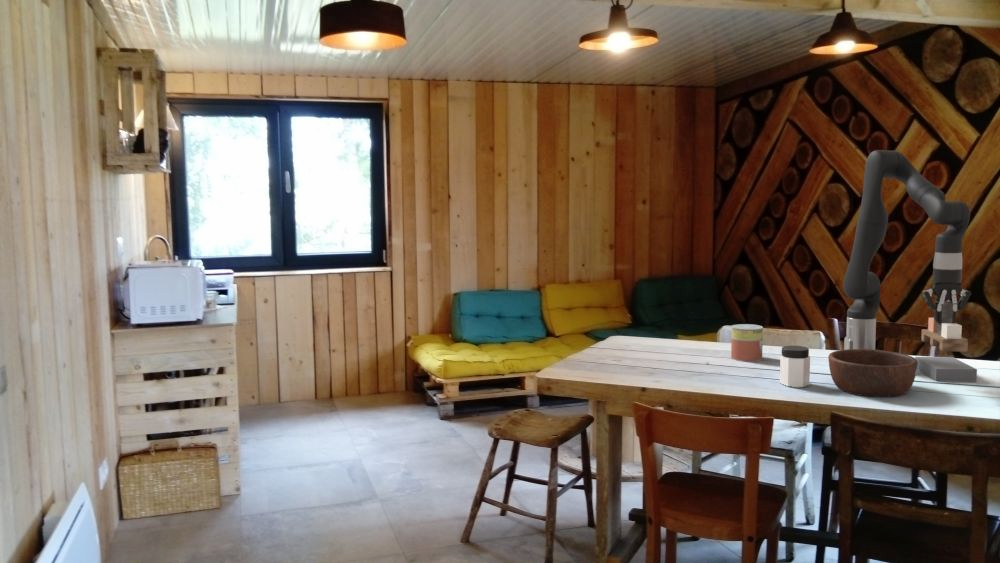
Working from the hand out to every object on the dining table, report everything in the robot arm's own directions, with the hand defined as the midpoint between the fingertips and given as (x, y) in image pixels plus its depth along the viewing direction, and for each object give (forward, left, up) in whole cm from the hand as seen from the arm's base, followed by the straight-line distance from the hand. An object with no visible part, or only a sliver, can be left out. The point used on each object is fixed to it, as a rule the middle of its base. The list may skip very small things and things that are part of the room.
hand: (944, 322), depth 231 cm
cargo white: (0, -5, -4) cm, 6 cm away
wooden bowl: (-21, -1, -21) cm, 30 cm away
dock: (+8, +19, -21) cm, 29 cm away
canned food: (-52, +41, -21) cm, 69 cm away
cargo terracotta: (0, +5, -4) cm, 6 cm away
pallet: (0, 0, -7) cm, 7 cm away
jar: (-43, +3, -21) cm, 48 cm away
